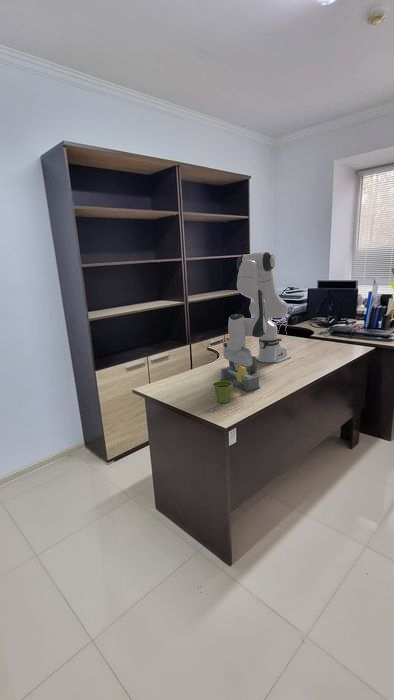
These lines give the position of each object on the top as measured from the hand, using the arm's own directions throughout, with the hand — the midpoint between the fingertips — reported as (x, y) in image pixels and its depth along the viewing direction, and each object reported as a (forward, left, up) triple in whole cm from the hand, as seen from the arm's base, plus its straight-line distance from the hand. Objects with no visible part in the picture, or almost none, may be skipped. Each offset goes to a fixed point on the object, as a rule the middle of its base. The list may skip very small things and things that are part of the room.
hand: (237, 370), depth 186 cm
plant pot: (+20, +13, -8) cm, 25 cm away
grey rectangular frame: (0, +1, -8) cm, 8 cm away
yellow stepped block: (0, +3, -5) cm, 6 cm away
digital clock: (-14, -12, -8) cm, 20 cm away
